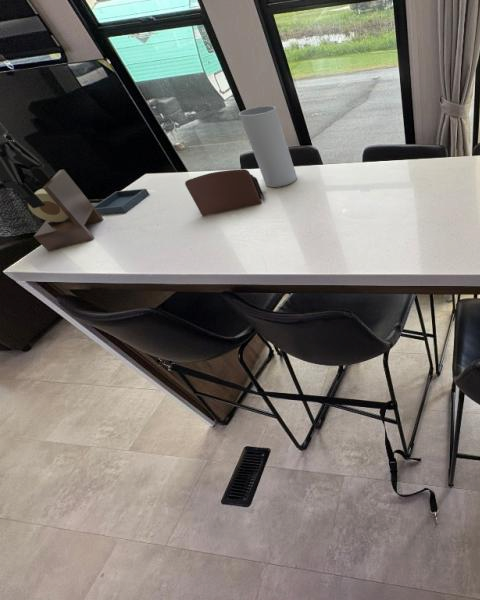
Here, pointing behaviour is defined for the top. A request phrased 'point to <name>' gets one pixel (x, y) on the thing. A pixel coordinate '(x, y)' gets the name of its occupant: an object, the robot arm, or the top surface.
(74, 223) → the stand
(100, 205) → the tray
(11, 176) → the robot arm
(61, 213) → the tape roll
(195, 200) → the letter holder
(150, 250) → the top surface
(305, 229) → the top surface
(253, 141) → the cylinder vase
